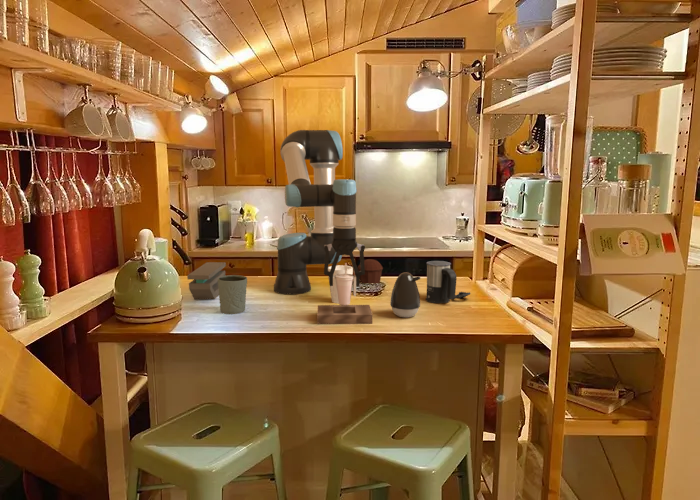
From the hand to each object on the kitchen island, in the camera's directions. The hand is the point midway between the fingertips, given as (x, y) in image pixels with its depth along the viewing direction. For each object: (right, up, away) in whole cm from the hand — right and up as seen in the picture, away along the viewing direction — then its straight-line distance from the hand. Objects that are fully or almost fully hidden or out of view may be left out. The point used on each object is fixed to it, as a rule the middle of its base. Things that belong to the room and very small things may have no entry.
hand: (344, 295), depth 174 cm
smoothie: (0, -3, 0) cm, 3 cm away
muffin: (+11, +1, +54) cm, 55 cm away
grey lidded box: (-54, -3, +31) cm, 62 cm away
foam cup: (-2, -5, +23) cm, 24 cm away
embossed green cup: (-39, -7, +10) cm, 41 cm away
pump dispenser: (+21, -8, +5) cm, 23 cm away
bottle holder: (0, -8, +1) cm, 8 cm away
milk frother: (+40, -4, +25) cm, 47 cm away
